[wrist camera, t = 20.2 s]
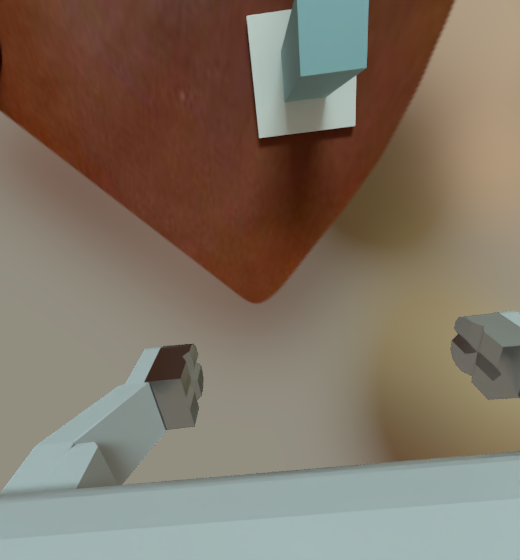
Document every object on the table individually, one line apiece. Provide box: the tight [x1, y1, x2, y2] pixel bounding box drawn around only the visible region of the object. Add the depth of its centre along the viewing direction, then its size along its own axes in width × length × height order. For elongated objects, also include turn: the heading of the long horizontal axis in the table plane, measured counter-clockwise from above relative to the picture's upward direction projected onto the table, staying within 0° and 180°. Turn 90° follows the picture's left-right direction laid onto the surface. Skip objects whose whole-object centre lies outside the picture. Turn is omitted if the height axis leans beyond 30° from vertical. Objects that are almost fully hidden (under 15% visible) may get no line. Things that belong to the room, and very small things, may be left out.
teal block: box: [281, 0, 369, 102], centre depth 27 cm, size 5×5×14 cm
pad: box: [246, 9, 356, 138], centre depth 34 cm, size 12×12×1 cm
